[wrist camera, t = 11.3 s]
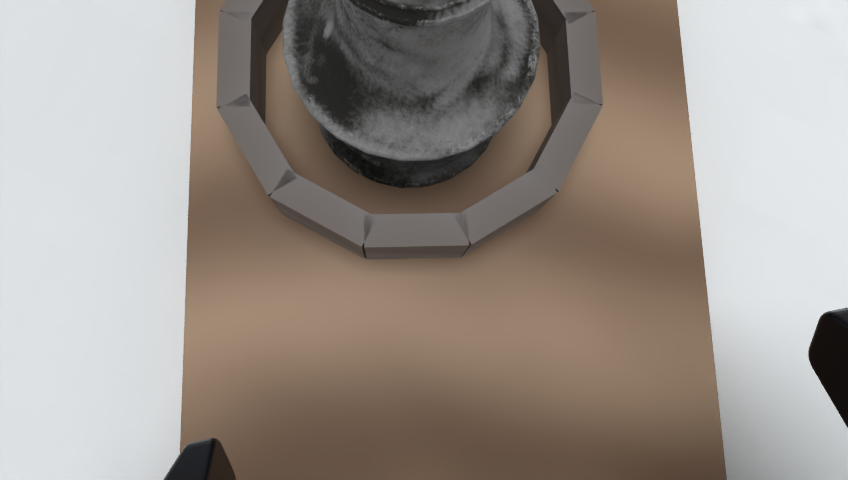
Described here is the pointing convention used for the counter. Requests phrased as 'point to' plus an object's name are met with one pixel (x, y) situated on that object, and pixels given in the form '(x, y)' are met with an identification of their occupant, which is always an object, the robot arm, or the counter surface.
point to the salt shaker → (411, 79)
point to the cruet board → (453, 273)
